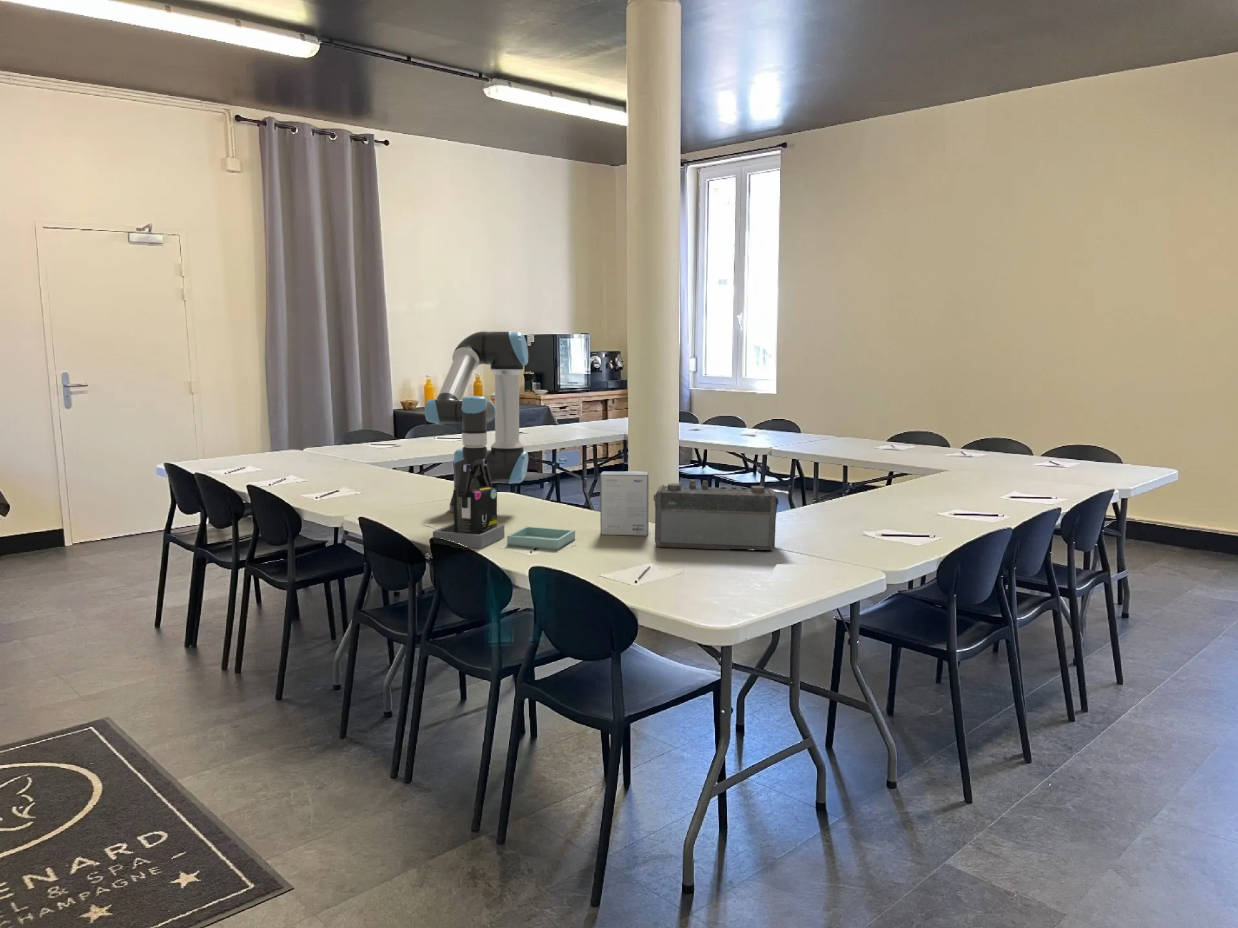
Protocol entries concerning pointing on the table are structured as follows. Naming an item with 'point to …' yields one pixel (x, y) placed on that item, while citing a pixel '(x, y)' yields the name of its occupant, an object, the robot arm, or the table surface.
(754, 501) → the radio
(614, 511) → the hard drive box
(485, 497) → the tampon box
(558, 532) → the tray
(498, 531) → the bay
